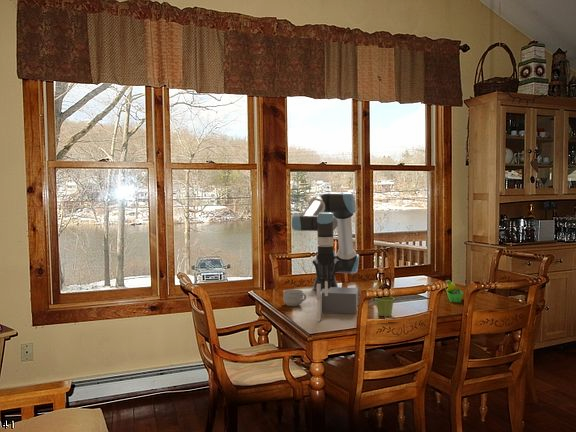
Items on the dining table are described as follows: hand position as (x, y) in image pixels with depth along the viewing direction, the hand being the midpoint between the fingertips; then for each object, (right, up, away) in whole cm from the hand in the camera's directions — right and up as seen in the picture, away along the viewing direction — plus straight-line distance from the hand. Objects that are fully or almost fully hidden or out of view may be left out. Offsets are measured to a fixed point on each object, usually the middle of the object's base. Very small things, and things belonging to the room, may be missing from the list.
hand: (326, 295), depth 219 cm
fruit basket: (+73, -9, +37) cm, 82 cm away
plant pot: (+29, -12, +8) cm, 33 cm away
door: (-3, -11, +7) cm, 13 cm away
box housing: (+8, -11, +20) cm, 25 cm away
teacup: (-14, -11, +29) cm, 34 cm away
